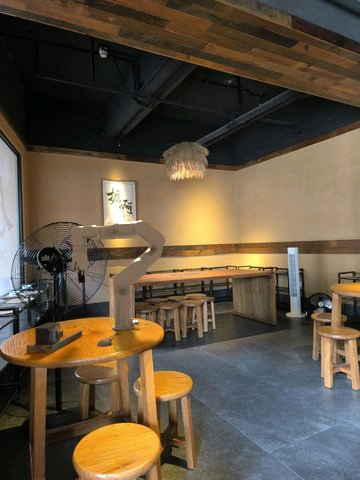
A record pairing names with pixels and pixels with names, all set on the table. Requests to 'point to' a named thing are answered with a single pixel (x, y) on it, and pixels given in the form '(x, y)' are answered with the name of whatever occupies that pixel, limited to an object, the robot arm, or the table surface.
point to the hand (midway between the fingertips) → (81, 282)
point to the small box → (47, 334)
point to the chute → (55, 346)
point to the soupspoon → (105, 341)
